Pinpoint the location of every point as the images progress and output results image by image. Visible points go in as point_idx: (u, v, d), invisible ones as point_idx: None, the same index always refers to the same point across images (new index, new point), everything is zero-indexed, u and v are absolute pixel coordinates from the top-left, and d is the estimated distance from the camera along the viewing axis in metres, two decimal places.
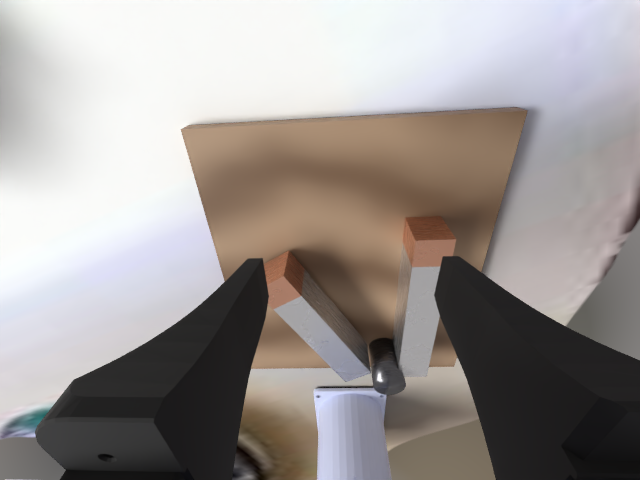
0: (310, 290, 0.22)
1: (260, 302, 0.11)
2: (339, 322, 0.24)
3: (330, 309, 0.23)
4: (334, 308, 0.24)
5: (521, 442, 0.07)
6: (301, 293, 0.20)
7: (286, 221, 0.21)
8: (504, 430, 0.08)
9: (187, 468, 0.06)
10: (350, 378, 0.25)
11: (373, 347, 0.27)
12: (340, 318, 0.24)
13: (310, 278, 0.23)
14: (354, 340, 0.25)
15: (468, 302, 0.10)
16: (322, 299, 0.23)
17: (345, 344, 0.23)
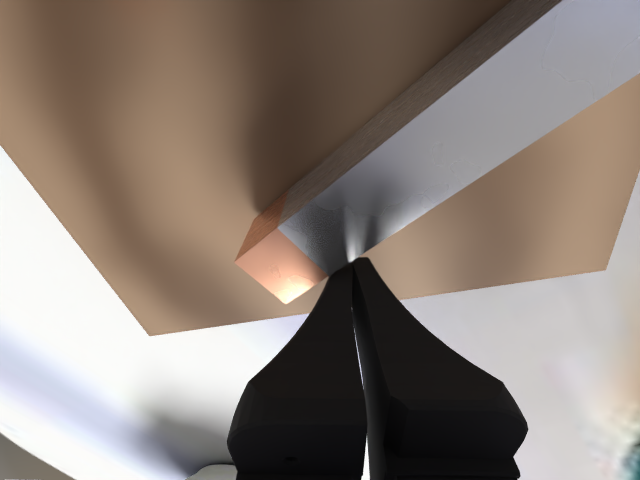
0: (304, 188, 0.10)
1: None
2: (410, 100, 0.08)
3: (370, 130, 0.09)
4: (382, 114, 0.10)
5: (374, 439, 0.07)
6: (279, 224, 0.09)
7: (215, 231, 0.13)
8: (371, 428, 0.08)
9: None
10: None
11: None
12: (411, 93, 0.09)
13: (303, 179, 0.11)
14: (493, 33, 0.08)
15: (360, 303, 0.10)
16: (341, 153, 0.10)
17: (457, 82, 0.07)
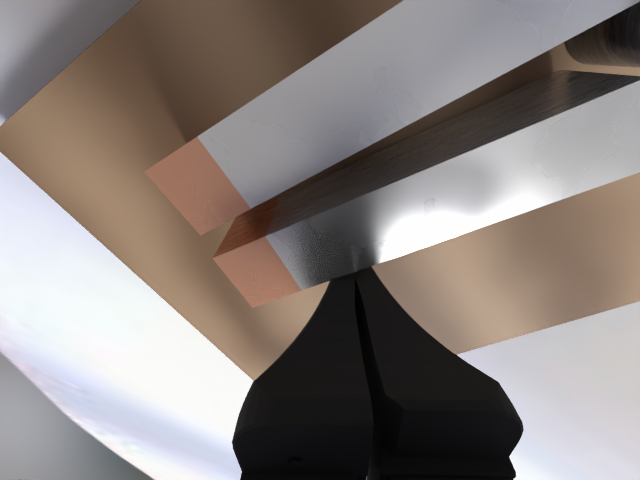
0: (297, 203, 0.10)
1: None
2: (415, 150, 0.09)
3: (372, 165, 0.10)
4: (385, 153, 0.10)
5: (371, 440, 0.07)
6: (267, 232, 0.09)
7: None
8: None
9: None
10: (632, 154, 0.08)
11: (600, 64, 0.09)
12: (416, 143, 0.10)
13: (296, 191, 0.11)
14: (497, 115, 0.09)
15: (358, 303, 0.10)
16: (340, 179, 0.10)
17: (461, 152, 0.08)
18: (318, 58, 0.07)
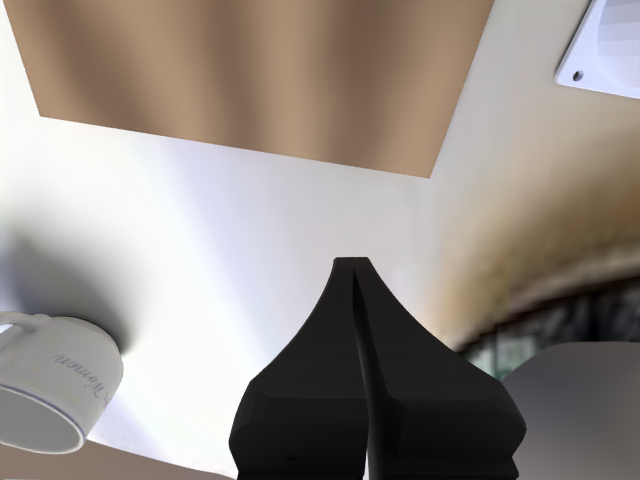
0: None
1: (352, 302, 0.11)
2: None
3: None
4: None
5: (374, 440, 0.07)
6: None
7: (139, 16, 0.15)
8: (370, 428, 0.08)
9: None
10: None
11: None
12: None
13: None
14: None
15: (359, 303, 0.10)
16: None
17: None
18: None
